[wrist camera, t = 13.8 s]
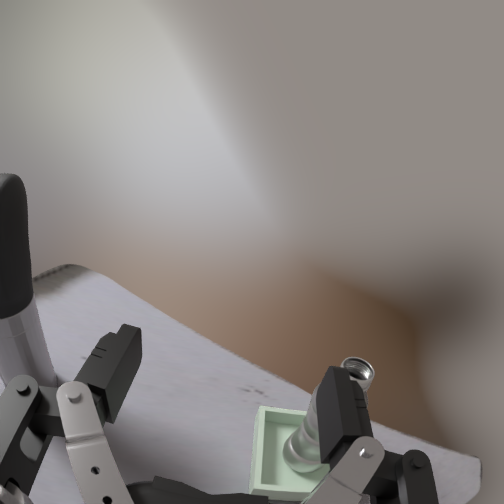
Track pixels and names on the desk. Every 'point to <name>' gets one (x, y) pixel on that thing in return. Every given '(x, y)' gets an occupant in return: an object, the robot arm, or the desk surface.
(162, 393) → the desk surface
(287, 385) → the desk surface
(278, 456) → the green tray
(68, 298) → the desk surface
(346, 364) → the plastic bottle
